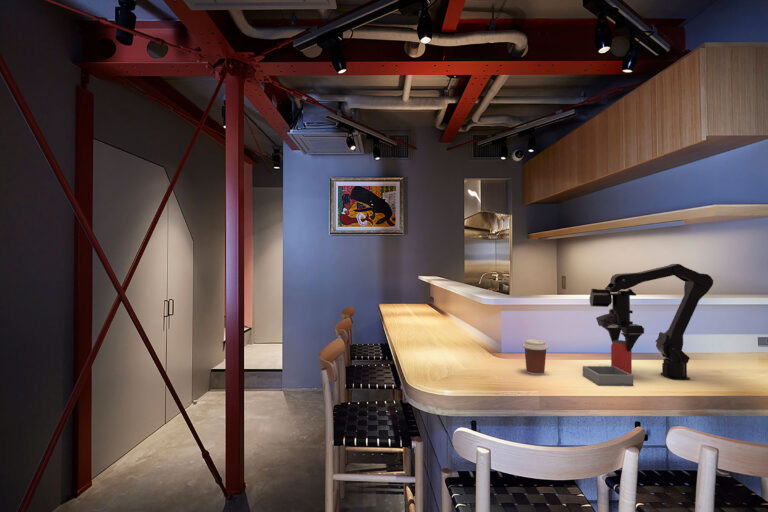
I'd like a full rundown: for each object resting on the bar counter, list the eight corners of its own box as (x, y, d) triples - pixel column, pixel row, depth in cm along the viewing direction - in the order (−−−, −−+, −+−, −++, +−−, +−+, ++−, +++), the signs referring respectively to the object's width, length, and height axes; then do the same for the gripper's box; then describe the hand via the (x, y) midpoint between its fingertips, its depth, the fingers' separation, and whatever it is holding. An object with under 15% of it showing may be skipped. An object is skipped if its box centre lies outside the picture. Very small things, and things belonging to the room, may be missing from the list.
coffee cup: (544, 369, 154) (544, 338, 154) (551, 376, 145) (551, 343, 145) (520, 369, 155) (519, 338, 155) (526, 375, 146) (525, 343, 146)
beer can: (634, 376, 145) (634, 343, 145) (615, 375, 146) (614, 343, 146) (627, 371, 151) (627, 340, 151) (608, 370, 153) (608, 339, 153)
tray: (614, 375, 146) (614, 366, 146) (633, 385, 134) (633, 375, 134) (582, 375, 146) (582, 366, 146) (598, 385, 135) (598, 375, 135)
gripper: (587, 304, 159) (587, 343, 158) (612, 310, 140) (613, 354, 140) (615, 304, 158) (616, 343, 158) (644, 310, 140) (645, 354, 139)
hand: (621, 348), depth 149 cm, fingers open, 9 cm apart
